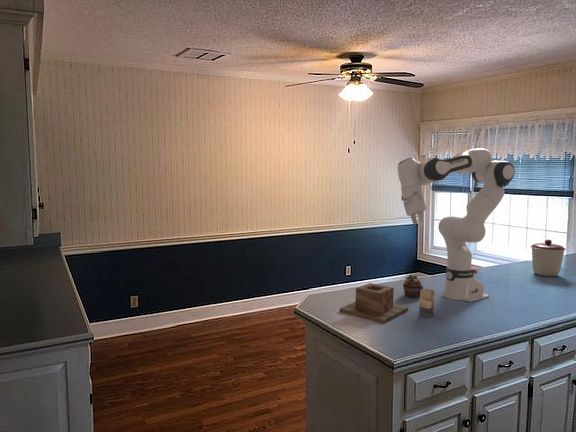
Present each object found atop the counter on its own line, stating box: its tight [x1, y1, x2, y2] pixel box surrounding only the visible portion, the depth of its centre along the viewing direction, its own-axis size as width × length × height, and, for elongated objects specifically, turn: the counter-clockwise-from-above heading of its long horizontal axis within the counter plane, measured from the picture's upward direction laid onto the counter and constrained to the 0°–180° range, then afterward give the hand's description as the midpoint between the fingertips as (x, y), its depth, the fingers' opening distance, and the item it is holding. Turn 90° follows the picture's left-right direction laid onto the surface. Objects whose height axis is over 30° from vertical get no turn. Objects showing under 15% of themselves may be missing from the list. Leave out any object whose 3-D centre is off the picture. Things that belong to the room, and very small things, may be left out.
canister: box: [530, 239, 566, 277], centre depth 273 cm, size 18×18×21 cm
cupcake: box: [402, 274, 424, 299], centre depth 228 cm, size 10×10×10 cm
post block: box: [339, 282, 409, 324], centre depth 204 cm, size 22×22×10 cm
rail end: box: [418, 288, 435, 319], centre depth 199 cm, size 4×4×11 cm
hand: (418, 223), depth 209 cm, fingers open, 8 cm apart
